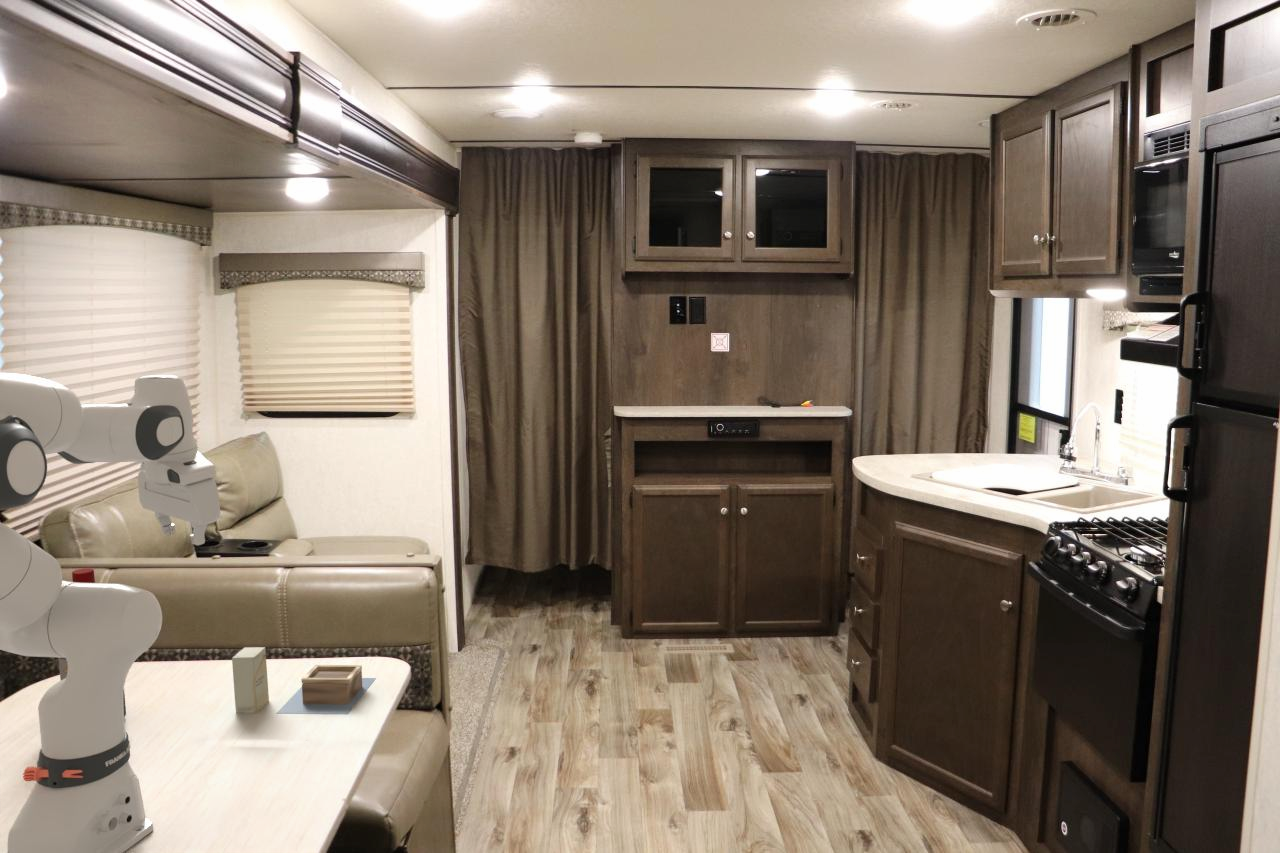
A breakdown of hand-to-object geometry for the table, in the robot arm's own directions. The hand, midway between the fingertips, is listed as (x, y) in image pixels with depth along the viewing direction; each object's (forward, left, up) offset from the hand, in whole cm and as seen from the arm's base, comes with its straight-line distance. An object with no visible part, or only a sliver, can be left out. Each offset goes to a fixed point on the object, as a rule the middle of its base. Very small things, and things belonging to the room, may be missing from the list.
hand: (183, 539), depth 179 cm
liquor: (+7, +23, -38) cm, 45 cm away
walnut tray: (+19, -19, -37) cm, 45 cm away
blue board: (+19, -18, -38) cm, 46 cm away
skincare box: (+13, -5, -38) cm, 41 cm away
